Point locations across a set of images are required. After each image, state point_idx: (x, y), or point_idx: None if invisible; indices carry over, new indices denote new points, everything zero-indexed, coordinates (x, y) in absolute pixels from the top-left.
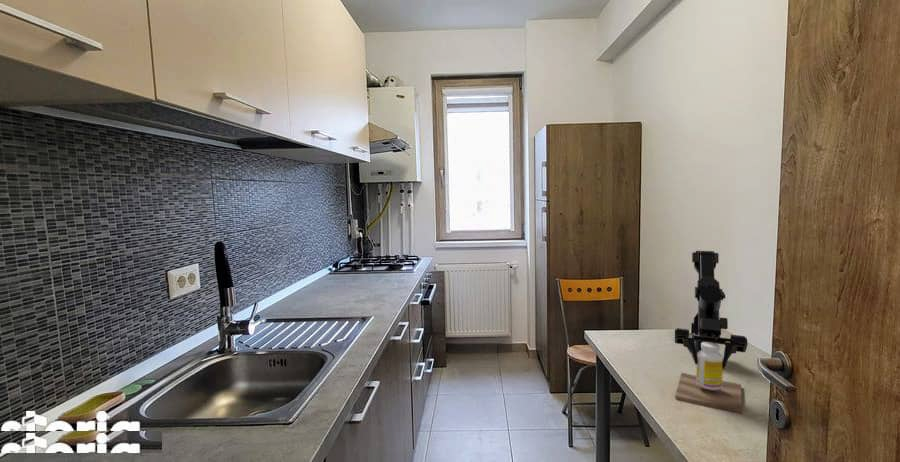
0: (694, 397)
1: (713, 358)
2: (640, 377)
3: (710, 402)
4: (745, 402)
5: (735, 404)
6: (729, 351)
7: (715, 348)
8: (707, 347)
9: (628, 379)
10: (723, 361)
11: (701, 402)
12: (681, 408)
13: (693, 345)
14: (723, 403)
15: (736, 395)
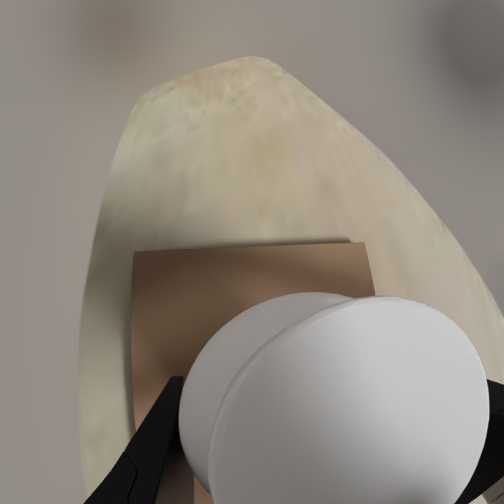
0: (304, 264)
1: (267, 304)
2: (479, 347)
3: (242, 253)
4: (122, 369)
5: (152, 289)
6: (98, 499)
7: (270, 339)
8: (396, 297)
9: (491, 304)
10: (177, 408)
11: (273, 248)
12: (320, 189)
13: (499, 408)
14: (195, 272)
15: (150, 389)
